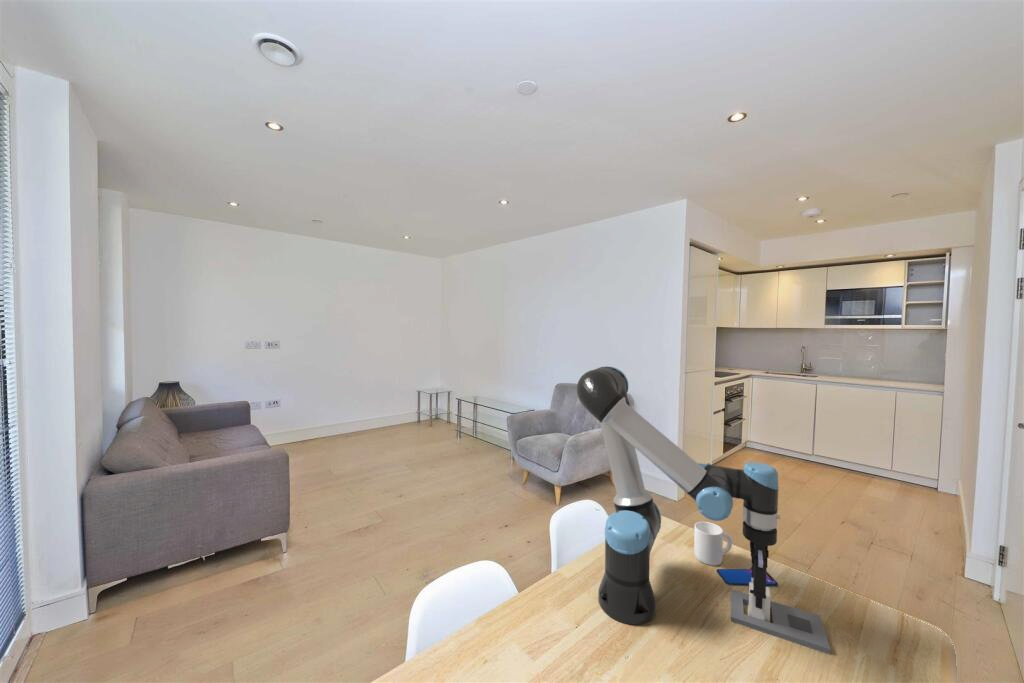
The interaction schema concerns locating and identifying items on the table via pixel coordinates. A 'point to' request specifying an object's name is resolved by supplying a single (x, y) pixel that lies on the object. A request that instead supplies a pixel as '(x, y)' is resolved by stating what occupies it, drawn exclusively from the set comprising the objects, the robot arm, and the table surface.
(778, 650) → the table surface
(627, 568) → the robot arm
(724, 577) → the smartphone
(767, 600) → the charger
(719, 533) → the mug
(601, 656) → the table surface
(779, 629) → the outlet plate
